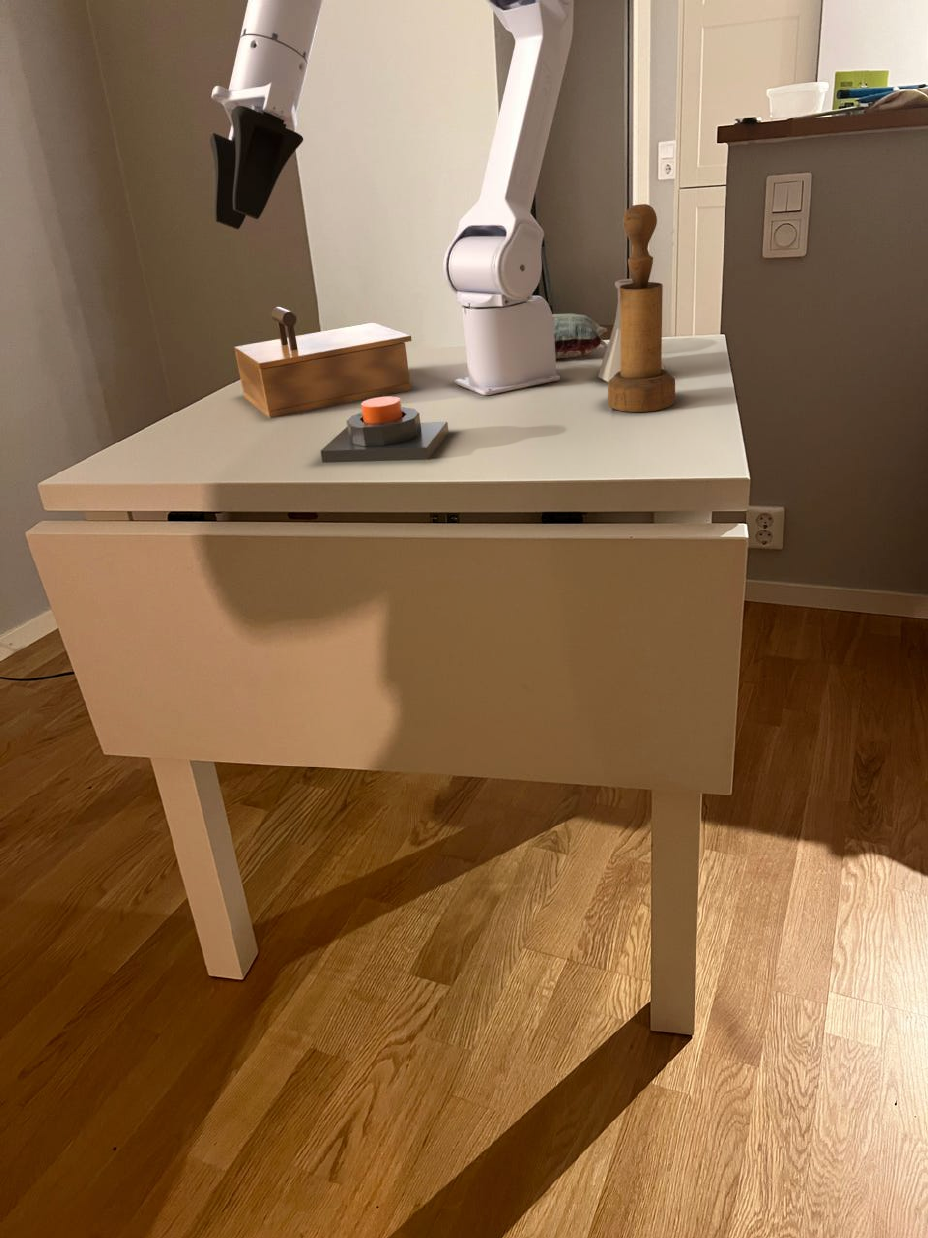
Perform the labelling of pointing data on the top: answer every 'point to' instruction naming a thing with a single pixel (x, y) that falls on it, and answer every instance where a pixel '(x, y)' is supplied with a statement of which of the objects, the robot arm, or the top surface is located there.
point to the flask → (614, 343)
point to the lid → (315, 342)
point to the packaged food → (576, 335)
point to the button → (381, 409)
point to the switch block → (386, 440)
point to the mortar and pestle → (641, 326)
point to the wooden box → (325, 380)
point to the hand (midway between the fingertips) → (236, 219)
